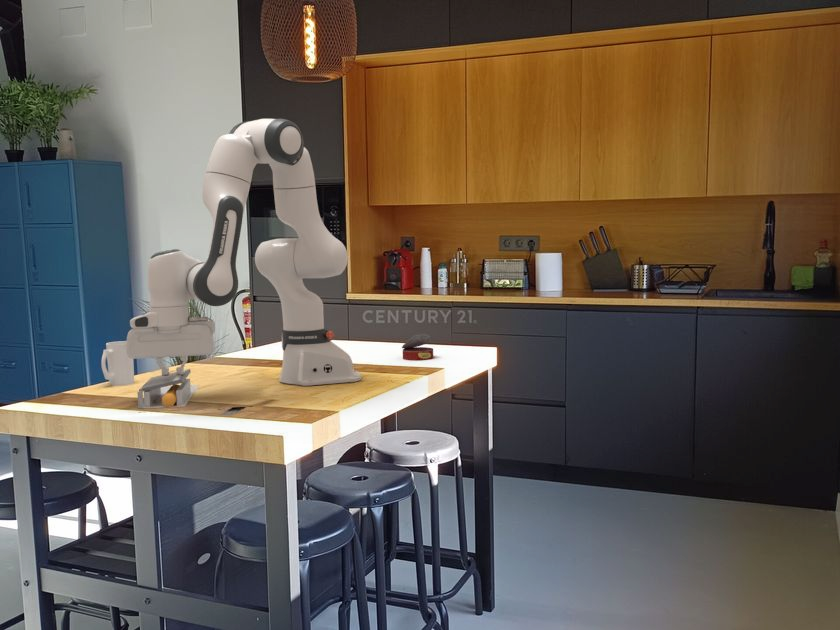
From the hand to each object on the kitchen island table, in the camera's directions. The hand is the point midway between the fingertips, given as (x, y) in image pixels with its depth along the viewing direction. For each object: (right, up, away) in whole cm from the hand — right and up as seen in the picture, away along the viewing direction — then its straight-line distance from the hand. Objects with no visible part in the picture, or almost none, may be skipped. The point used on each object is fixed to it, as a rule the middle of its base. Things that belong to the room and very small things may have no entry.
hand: (172, 375), depth 192 cm
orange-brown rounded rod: (0, -6, -2) cm, 6 cm away
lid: (-2, -2, 0) cm, 2 cm away
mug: (-22, -5, +23) cm, 32 cm away
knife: (+17, -8, -6) cm, 20 cm away
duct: (-2, -6, +5) cm, 9 cm away
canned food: (+59, 0, +63) cm, 86 cm away
